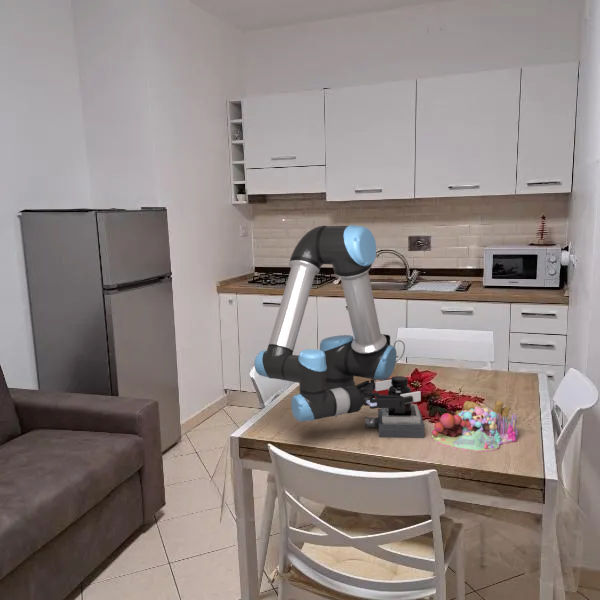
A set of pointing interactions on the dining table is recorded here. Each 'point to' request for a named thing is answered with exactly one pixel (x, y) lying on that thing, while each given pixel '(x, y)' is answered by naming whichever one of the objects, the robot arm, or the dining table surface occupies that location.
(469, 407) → the candy landscape model
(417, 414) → the block
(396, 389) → the supplement bottle
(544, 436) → the dining table surface
